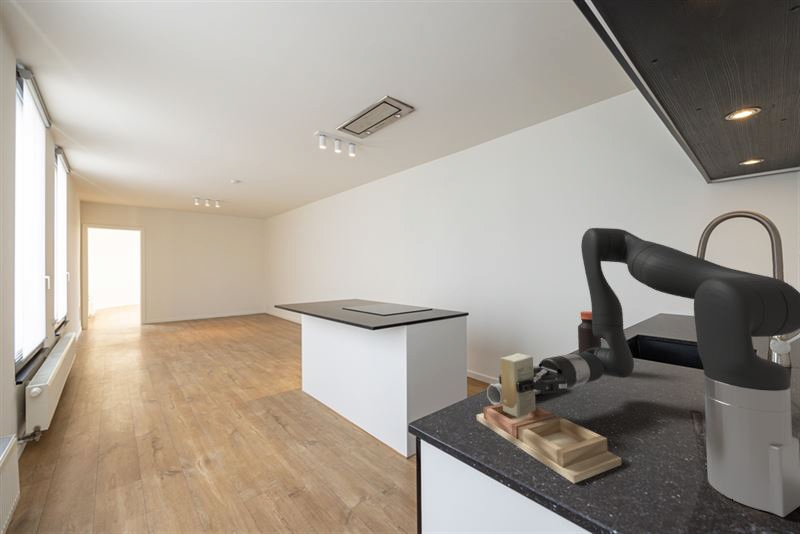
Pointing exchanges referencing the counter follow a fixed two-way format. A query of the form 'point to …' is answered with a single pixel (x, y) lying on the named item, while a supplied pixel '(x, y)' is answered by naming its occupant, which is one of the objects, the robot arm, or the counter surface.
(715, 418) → the robot arm
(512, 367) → the skincare box
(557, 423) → the two-compartment wooden tray
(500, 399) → the tube
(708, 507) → the counter surface
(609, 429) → the counter surface
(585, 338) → the vinegar
